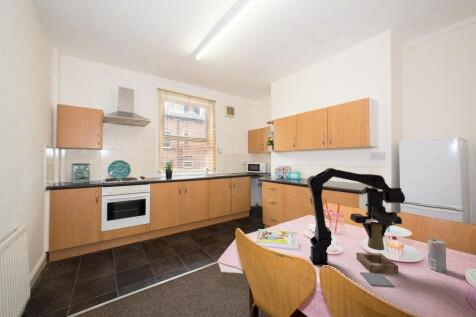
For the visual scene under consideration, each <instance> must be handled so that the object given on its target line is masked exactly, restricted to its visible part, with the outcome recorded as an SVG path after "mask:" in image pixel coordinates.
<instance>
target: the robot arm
mask: <svg viewBox="0 0 476 317" xmlns="http://www.w3.org/2000/svg"><path fill="white" fill-rule="evenodd" d="M332 178H338V179H341V180H342V179H343V180H347V181H353V182H358V183H359V184H363V185H365V187H364V188H363V189H362V190H361V192H363V193H365V194H366V203H365V207H366V209H367V212H365V215H363V214H361V213H351V214H350V216H349V219H350V221H352V222H354V223H356V224H361V225H362V226H363V228H364V229H365V231H366V235H367V236H368V239H369V238H371V226H372V224H371V223H370V222H378V223H379V224H381V225H382V226H383V229H382V230H381V233H382V238H384V236H385V233H386V231H387V230H388V228H390V227H391V226H394V224H395V225H403V219H402V217H401V216H399V215H398V213H397V212H396V211H386V207H385V206H384V202H385V203H386V204H404V202H405V200H406V196H405V194H404V192H403V191H402V188H401V187H397V186H396V187H390V186H389V185H388V184H387V182H386V180H385V177H384V176H382V175H380V174H374V173H357V172H351V171H347V170H346V171H345V170H342V169H341V170H340V169H335V168H333V167H328V168H326V169H325V170H323V171H321V172H319V173H317V174H316V175H310V176H309V177H307V182H306V183H307V186H308V189H309V191H310V193H311V197H312V198H311V199H312V204H313V213H314V218H315V228H314V236H312V237H311V238H310V239H309V241H310V244H311V246H310V255H309V259H310V261H311V263H312V265H314V266H315V265H316V266H318V265H321V266H328V265H329V263H328V262H329V260H328V258H329V256H328V248H329V247H330V246H331V245H332V241H333V240H334V239H333V238H332V231H331V229H330V228H329V227H328V226H327V224H326V218H325V211H324V205H323V198H322V197H323V196H322V195H323V191H324V190H323V189H324V184H326V183H327V182H329V181H330V180H331V179H332Z"/></svg>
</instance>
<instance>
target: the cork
mask: <svg viewBox="0 0 476 317" xmlns="http://www.w3.org/2000/svg"><path fill="white" fill-rule="evenodd" d="M370 223H371V224H372V226H371V238H369V237H368V239H367V247H368V248H370V249H372V250H375V251H384V250H385V245H384V241H383V240H384V239H383V238H384V237H383V238H382V233H381V230H382V229H383V226H382V225H381V224H379V223H378V221H370Z"/></svg>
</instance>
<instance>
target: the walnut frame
mask: <svg viewBox="0 0 476 317" xmlns="http://www.w3.org/2000/svg"><path fill="white" fill-rule="evenodd" d="M355 256H356V260H357V261H358V262H359V263H360V264H361V265H362V266H363V267H364V268H365V270H367V271H368V273H381V274H399V266H398V265H397V264H396V263H394V262H393V260H391V259H389V258H388V257H387V256H385V255H384V254H382V253H378V252H377V253H376V252H356V254H355ZM373 262H374V263H373ZM376 262H377V263H376ZM378 262H379V263H378Z"/></svg>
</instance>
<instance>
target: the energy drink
mask: <svg viewBox="0 0 476 317" xmlns="http://www.w3.org/2000/svg"><path fill="white" fill-rule="evenodd" d="M427 251H428V253H427V257H428V258H427V259H428V260H427V261H428V262H427V263H428V264H427V266H428V268H430V270H431V271H434V272H438V273H441V274H442V273H443V274H444V273H446V272H447V245H446V241H443V240H440V239H437V238H429V239H428V240H427Z"/></svg>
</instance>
